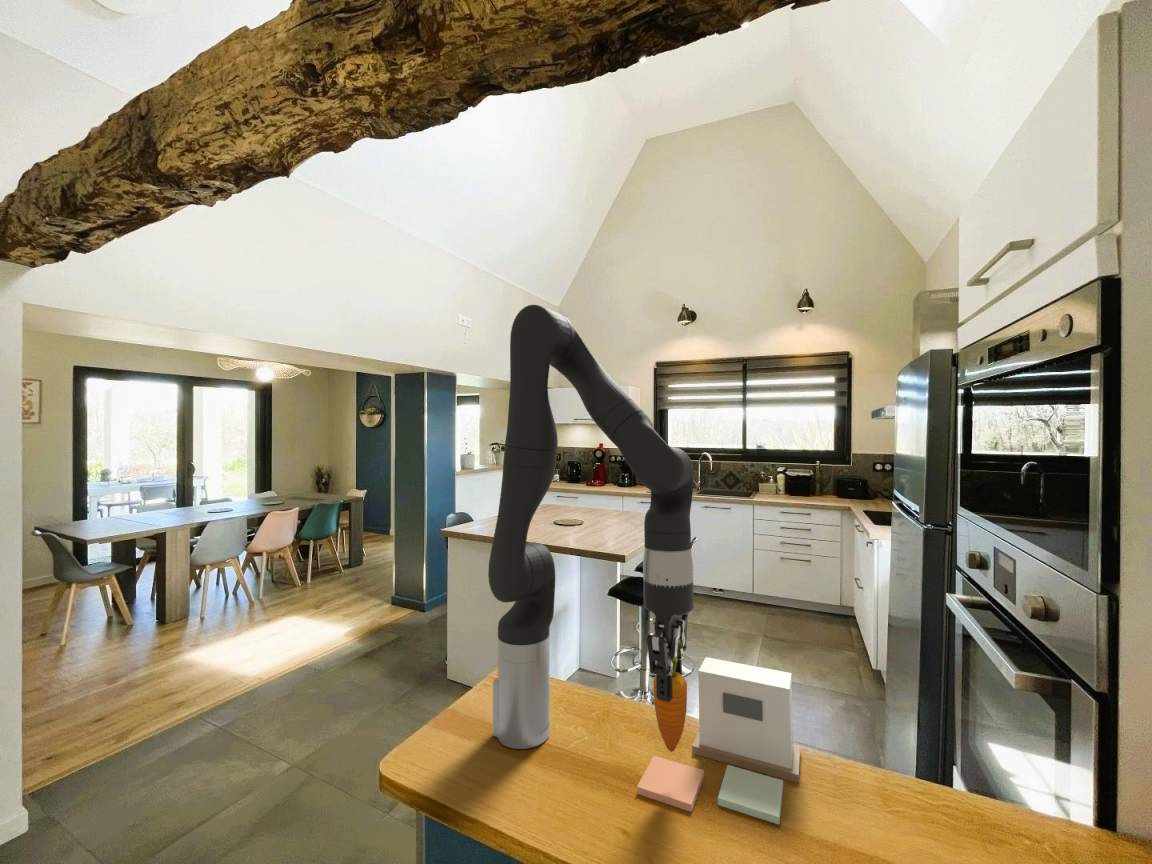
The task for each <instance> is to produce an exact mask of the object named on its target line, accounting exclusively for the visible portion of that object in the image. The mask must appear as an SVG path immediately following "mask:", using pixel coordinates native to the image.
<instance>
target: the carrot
mask: <svg viewBox="0 0 1152 864" xmlns="http://www.w3.org/2000/svg"><path fill="white" fill-rule="evenodd" d="M667 652H669V651H668V648H667ZM677 661H678V660H677V657H676V658H674V659H673V673H672V690H673V698H672V699H671V701H670V702H668V701H663V700H659V699H658V698H657V689H656V675H655V676H654V677H653V696H654V697H653V699H654V701H653V702H654V709H655V710H654V712H655V716H656V717H655V718H656V721H657V726H658V729H659V732H660V733H659V734H660V735H661V738H662V740H663V742H664V744H665V747H666V749H667V750H668V751H669V752H670V753H672V752H674V751H675V750H676V748H677V746H678V745H679V742H680V741H681V738H682V735H683V732H684V727H685V722H686V717H687V705H688V704H687V703H688V702H687V701H688V684H687V680H686V679H685V678H684V676H683V674H682V675H681V674H680V673H678V672H675V670H676V666H677ZM660 665H663V664H662V662H660Z"/></svg>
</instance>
